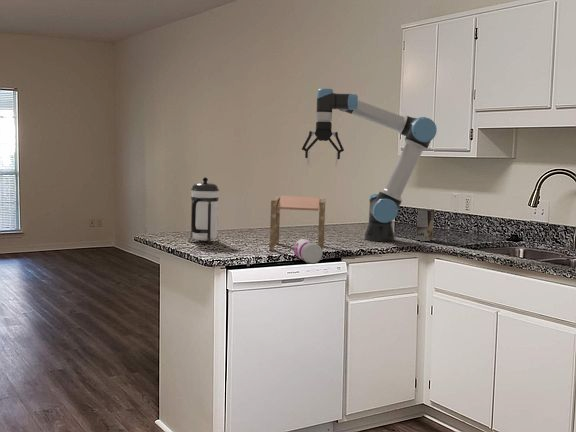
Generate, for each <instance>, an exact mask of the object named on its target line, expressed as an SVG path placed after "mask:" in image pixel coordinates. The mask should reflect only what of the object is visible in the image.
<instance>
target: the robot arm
mask: <svg viewBox="0 0 576 432" xmlns="http://www.w3.org/2000/svg"><path fill="white" fill-rule="evenodd" d="M316 92H317V94H316V95H317V96H316V116H315V119H316V122H315V131H312V130H310V131H309V132H308V136H307V138H306V140H305V142H304V143H303V146H302V148H301V150H302V151H304V152H305V154H304V156H305V157H304V158H305V159H307V166H310V154H311V153H310V151H309V150H310V149H311V148H312V147H313V146H314V145H315V144H316V143H317V142H318V141H320V142H322V141H324V142H328V141H329V143H330V144H331V145H332V147H333V148H334V149H335V151H336V152H335V167H338V160H340V159H341V153H342V152H345V149H344V147H343V145H342V143H341V140H340V138H339V133H338V131H336V132H332V131H333V130H332V129H333V128H332V127H333V125H332V120H333V110H339V111H341V112H344V113H347V114H351V115H354V116H356V117H358V118H361V119H364V120H366V121H369V122H373V123H375V124H378V125H380V126H383V127H386V128H389V129H391V130H394V131H396V132H398V133H399V135H401V136H404V141H405V145H404V147H403V149H402V151H401V153H400V156H399V157H398V160H397V162H396V163H395V166H394V168H393V171H392V172H391V175H390V176H389V179H388V181H387V183H386V185H385V186H384V189H381V190H380V191H379V192H378V193H373V194H372V193H371V194H370V195H369V208H368V209H369V210H368V225H367V227H366V230H365V233H364V240H367V241H372V242H373V241H374V242H394V241H395V239H396V237H395V236H396V235H395V231H394V228H393V221H394V220H395V219H396V218H397V216H398V213H399V209H400V206H401V205H402V202H403V200H402V194H403V192H404V190H405V188H406V186H407V184H408V182H409V180H410V178H411V176H412V173H413V171H414V169H415V168H416V165H417V163H418V161H419V159H420V157H421V155H422V153H423V152H424V151H426V150H428V148H429V147H430V144H431V141H432V140H434V138H435V137H436V135H437V129H438V128H437V124H436V123H435V121H434V120H433V119H431V118H429V117H426V116H420V117H413V116H412V117H411V116H409V115H405V116H402V115H400V114H396V113H395V112H391V111H389V110H386V109H383V108H380V107H378V106H375V105H372V104H369V103H367V102H364V101H361V100H359V95H358V94H356V93H335V92H334V90H333V88H318V90H317V91H316ZM314 135H315V137H316V138H315V139H313V141H312V142H311V143H310V144H309V145H308V143H309V141H310V140H311V138H312V137H313V136H314ZM332 136H333V137H335V140H336V142H337V144H338V146H339V147H340V149H339V147H338V146H337V144H336V143H335V142H334V141H333V140H332V139H331V137H332ZM307 145H308V146H307Z"/></svg>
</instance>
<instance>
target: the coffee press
mask: <svg viewBox="0 0 576 432" xmlns="http://www.w3.org/2000/svg"><path fill="white" fill-rule="evenodd" d="M202 181H203V182H197V183H194V184H192V187H191V188H190V190H191V197H190V199H191V210H190V211H191V212H190V213H191V214H190V215H191V216H190V217H191V220H190V222H191V223H190V237H189V239H188V240H187V241H188V242H189V243H192V242H193V241H195V240H196V241H206V243H207V245H211V244H212V241H215V242H219V241H220V238H219V237H218V215H219V214H218V211H219V210H218V209H219V207H218V206H219V191H220V189H219V186H218V185H217V184H215V183H212V182H211V183H210V182H208V178H207V176H206V177H203V178H202Z"/></svg>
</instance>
